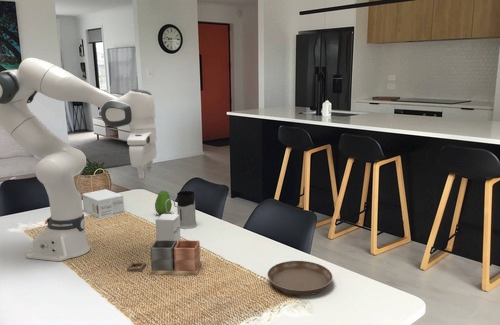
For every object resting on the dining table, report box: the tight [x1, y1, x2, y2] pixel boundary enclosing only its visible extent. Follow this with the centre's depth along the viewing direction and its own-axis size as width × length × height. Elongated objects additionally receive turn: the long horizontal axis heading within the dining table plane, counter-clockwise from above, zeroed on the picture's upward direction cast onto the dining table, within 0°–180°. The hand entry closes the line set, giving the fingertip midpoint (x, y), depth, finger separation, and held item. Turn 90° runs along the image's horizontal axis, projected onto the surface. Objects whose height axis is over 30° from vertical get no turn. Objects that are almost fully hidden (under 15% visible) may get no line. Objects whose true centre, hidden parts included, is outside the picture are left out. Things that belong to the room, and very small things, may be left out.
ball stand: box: [126, 261, 147, 273], centre depth 153 cm, size 5×5×1 cm
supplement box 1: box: [81, 188, 125, 220], centre depth 216 cm, size 17×13×9 cm
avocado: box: [154, 190, 173, 216], centre depth 211 cm, size 8×8×12 cm
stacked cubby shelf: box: [149, 239, 202, 276], centre depth 152 cm, size 16×9×9 cm, turn 87°
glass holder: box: [165, 190, 198, 230], centre depth 194 cm, size 9×14×15 cm, turn 124°
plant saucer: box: [267, 260, 333, 296], centre depth 142 cm, size 21×21×3 cm
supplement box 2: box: [155, 213, 181, 242], centre depth 171 cm, size 7×7×13 cm
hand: (145, 174), depth 157 cm, fingers open, 8 cm apart
